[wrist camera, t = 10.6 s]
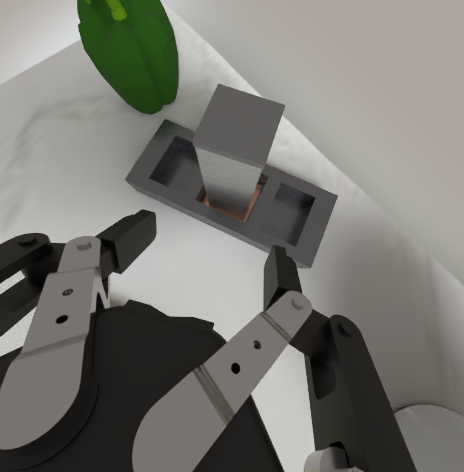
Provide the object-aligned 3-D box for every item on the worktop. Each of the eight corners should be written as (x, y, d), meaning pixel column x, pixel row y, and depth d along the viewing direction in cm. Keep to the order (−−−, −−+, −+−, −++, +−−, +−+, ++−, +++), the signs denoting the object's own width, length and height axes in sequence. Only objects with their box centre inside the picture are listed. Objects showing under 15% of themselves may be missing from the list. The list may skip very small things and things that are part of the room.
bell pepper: (160, 60, 24) (113, -89, 14) (198, 99, 23) (178, -31, 13) (106, 92, 22) (12, -48, 13) (144, 136, 21) (75, 21, 12)
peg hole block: (136, 190, 20) (124, 179, 18) (171, 135, 21) (165, 119, 19) (300, 268, 19) (311, 267, 16) (324, 204, 20) (337, 195, 18)
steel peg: (209, 207, 19) (192, 141, 9) (221, 175, 20) (218, 83, 10) (244, 219, 19) (264, 165, 9) (256, 186, 20) (285, 105, 10)
